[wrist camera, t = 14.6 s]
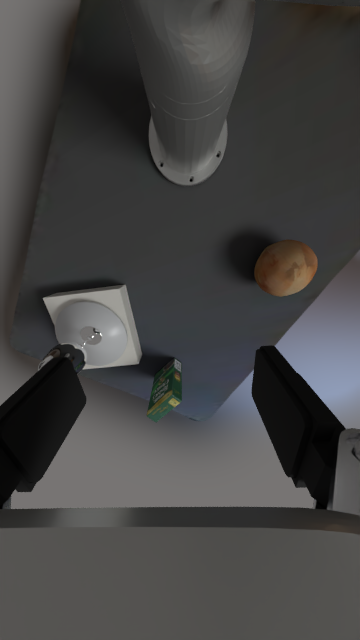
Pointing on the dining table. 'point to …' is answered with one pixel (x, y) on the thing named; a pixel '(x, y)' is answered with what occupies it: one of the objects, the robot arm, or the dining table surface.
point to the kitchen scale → (97, 324)
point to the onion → (285, 267)
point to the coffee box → (166, 390)
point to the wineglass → (74, 349)
